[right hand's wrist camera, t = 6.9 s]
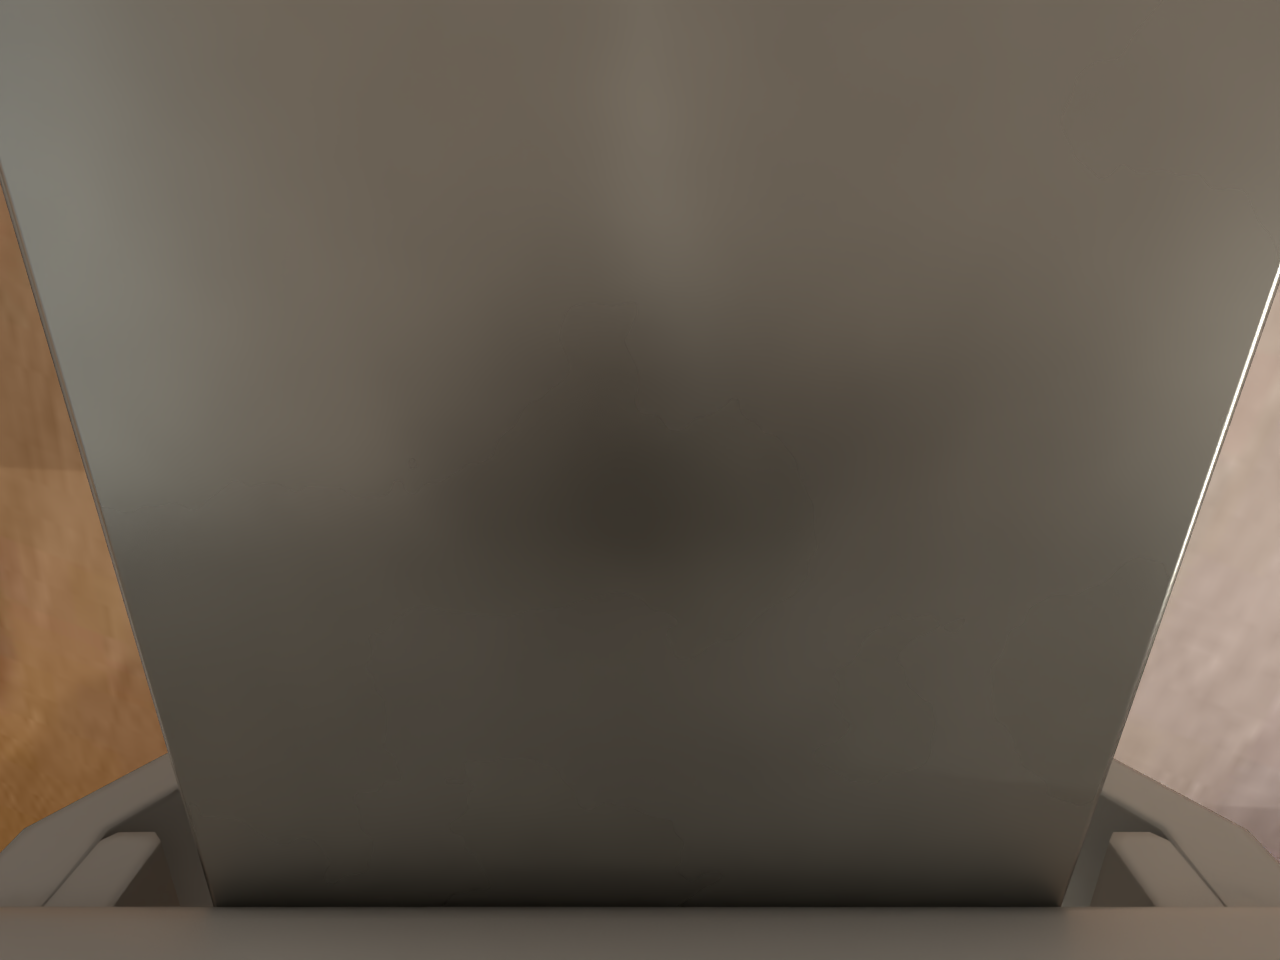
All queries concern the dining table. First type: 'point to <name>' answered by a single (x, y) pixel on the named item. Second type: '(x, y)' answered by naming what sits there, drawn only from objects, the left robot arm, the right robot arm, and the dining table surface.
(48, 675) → the dining table surface
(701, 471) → the box
